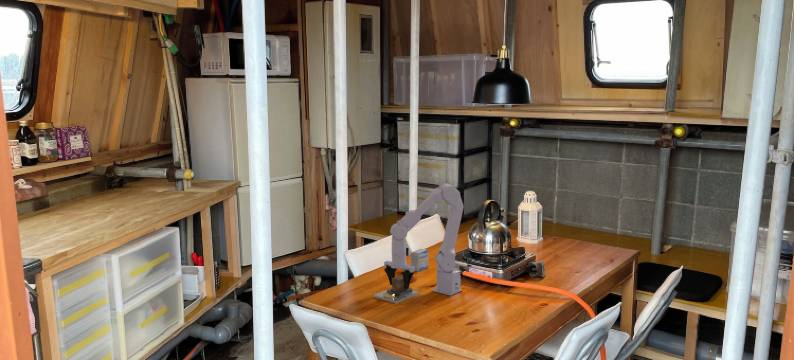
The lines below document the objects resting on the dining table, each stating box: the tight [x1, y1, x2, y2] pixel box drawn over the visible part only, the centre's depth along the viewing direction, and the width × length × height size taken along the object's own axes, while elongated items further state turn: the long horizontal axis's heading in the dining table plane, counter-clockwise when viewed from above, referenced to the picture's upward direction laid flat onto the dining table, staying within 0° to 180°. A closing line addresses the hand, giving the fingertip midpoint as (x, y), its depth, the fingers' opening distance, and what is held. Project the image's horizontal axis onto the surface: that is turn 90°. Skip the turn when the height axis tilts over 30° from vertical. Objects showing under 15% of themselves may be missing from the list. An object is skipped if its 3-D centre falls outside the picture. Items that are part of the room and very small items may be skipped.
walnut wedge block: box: [391, 275, 407, 292], centre depth 247 cm, size 4×5×6 cm
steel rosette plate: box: [373, 286, 420, 304], centre depth 246 cm, size 12×14×2 cm
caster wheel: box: [524, 260, 546, 278], centre depth 271 cm, size 7×11×10 cm
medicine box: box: [410, 248, 429, 273], centre depth 282 cm, size 8×4×9 cm, turn 143°
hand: (399, 286), depth 247 cm, fingers open, 7 cm apart
